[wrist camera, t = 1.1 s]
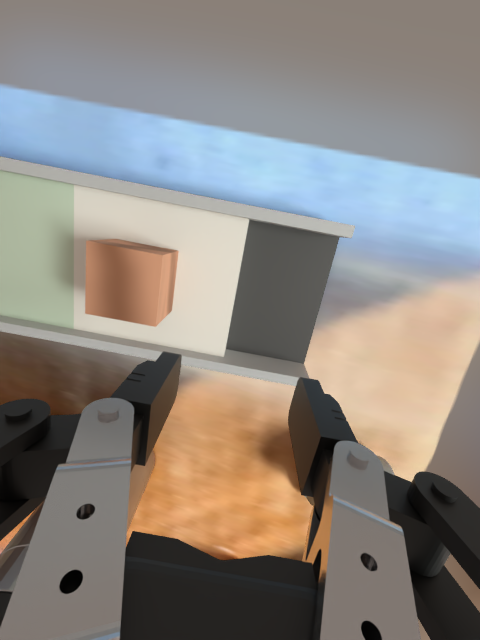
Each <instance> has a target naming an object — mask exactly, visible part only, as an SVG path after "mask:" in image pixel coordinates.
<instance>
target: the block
mask: <svg viewBox="0 0 480 640" xmlns="http://www.w3.org/2000/svg"><path fill="white" fill-rule="evenodd" d="M178 253H179V251H177V250H172V249H167V248H161V247H156V246H151V245H146V244H141V243H135V242H130V241H125V240H120V239H104V240H88V241H86V285H85V314H90V315H95V316H100V317H106V318H111V319H116V320H122V321H127V322H132V323H138V324H143V325H148V326H154V327H156V326H157V325H158V324H159V323H160V322H161V321H162V320H163V319H164V318H165V317H166V316H167V315H168V314H169V313H170V312H171V311H172V305H173V297H174V288H175V279H176V270H177V261H178Z"/></svg>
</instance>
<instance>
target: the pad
mask: <svg viewBox="0 0 480 640" xmlns="http://www.w3.org/2000/svg"><path fill="white" fill-rule="evenodd" d="M0 315H2V316H7V317H12V318H18V319H23V320H28V321H34V322H39V323H44V324H50V325H55V326H61V327H66V328H71V329H74V185H73V184H68V183H63V182H58V181H53V180H48V179H42V178H37V177H32V176H27V175H22V174H17V173H12V172H6V171H1V170H0Z"/></svg>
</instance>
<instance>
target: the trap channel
mask: <svg viewBox="0 0 480 640" xmlns="http://www.w3.org/2000/svg"><path fill="white" fill-rule="evenodd" d="M0 170H1V171H6V172H12V173H17V174H22V175H27V176H32V177H37V178H42V179H48V180H53V181H58V182H63V183H68V184H73V185H74V329H71V328H66V327H61V326H55V325H50V324H44V323H39V322H34V321H28V320H23V319H18V318H12V317H7V316H2V315H0V331H2V332H8V333H13V334H19V335H24V336H29V337H35V338H40V339H45V340H51V341H56V342H62V343H67V344H72V345H78V346H83V347H88V348H94V349H99V350H105V351H110V352H115V353H121V354H126V355H131V356H137V357H142V358H148V359H153V360H157V359H158V358H159V356H160V355H161V353H162V352H163V351H165V352H171V353H176V354H181V355H182V360H181V365H185V366H191V367H196V368H201V369H207V370H212V371H217V372H223V373H228V374H233V375H239V376H244V377H250V378H255V379H260V380H266V381H271V382H276V383H282V384H287V385H293V386H296V385H297V381H298V379H299V378H300V377H303V378H308V379H309V376H308V374H307V371H306V368H305V366H304V361H305V357H306V354H307V350H308V347H309V343H310V340H311V336H312V333H313V329H314V325H315V322H316V318H317V315H318V311H319V308H320V304H321V301H322V297H323V294H324V290H325V287H326V283H327V279H328V276H329V272H330V269H331V265H332V262H333V258H334V255H335V251H336V248H337V244H338V240H339V237H345V238H352V235H353V232H354V229H355V226H353V225H348V224H343V223H337V222H332V221H327V220H322V219H317V218H312V217H307V216H302V215H297V214H291V213H286V212H281V211H276V210H271V209H266V208H261V207H256V206H250V205H245V204H240V203H235V202H230V201H225V200H220V199H215V198H210V197H204V196H199V195H194V194H189V193H184V192H179V191H174V190H169V189H163V188H158V187H153V186H148V185H143V184H138V183H133V182H128V181H123V180H117V179H112V178H107V177H102V176H97V175H92V174H87V173H82V172H76V171H71V170H66V169H61V168H56V167H51V166H46V165H41V164H35V163H30V162H25V161H20V160H15V159H10V158H5V157H0ZM104 239H120V240H125V241H130V242H135V243H141V244H146V245H151V246H156V247H161V248H167V249H172V250H177V251H179V253H178V261H177V270H176V279H175V288H174V297H173V305H172V311H171V312H170V313H169V314H168V315H167V316H166V317H165V318H164V319H163V320H162V321H161V322H160V323H159V324H158V325H157V326H156V327H154V326H148V325H143V324H138V323H132V322H127V321H122V320H116V319H111V318H106V317H100V316H95V315H90V314H85V285H86V241H88V240H104Z"/></svg>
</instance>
